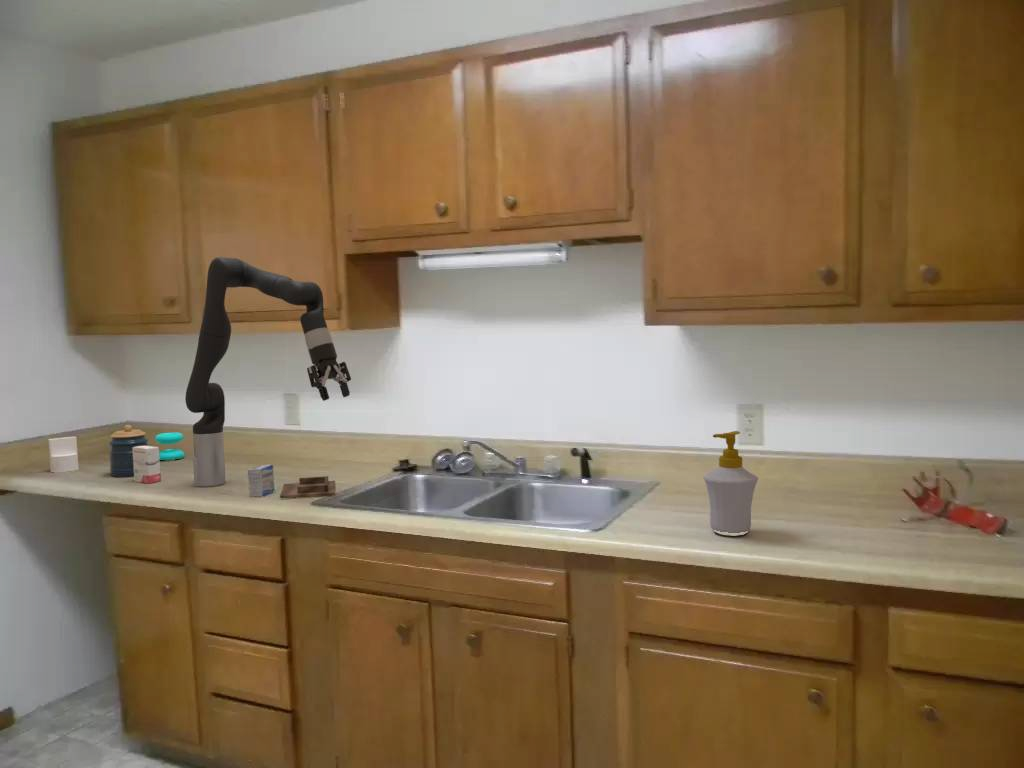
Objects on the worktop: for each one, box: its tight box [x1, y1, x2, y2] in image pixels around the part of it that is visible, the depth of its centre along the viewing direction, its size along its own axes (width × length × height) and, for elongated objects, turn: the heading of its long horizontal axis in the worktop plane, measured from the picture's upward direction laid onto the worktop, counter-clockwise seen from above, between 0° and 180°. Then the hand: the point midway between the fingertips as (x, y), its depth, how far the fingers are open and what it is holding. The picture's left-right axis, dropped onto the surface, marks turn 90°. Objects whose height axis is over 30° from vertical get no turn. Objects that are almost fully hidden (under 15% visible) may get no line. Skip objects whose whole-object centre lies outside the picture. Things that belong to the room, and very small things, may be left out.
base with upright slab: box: [48, 436, 79, 473], centre depth 298 cm, size 9×9×12 cm
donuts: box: [155, 431, 185, 461], centre depth 318 cm, size 10×10×10 cm
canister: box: [108, 424, 150, 478], centre depth 289 cm, size 13×13×18 cm
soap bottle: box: [703, 430, 759, 533], centre depth 197 cm, size 13×13×25 cm
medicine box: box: [247, 463, 275, 498], centre depth 251 cm, size 8×4×9 cm, turn 168°
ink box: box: [132, 445, 162, 484], centre depth 275 cm, size 9×5×12 cm, turn 57°
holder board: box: [279, 475, 336, 499], centre depth 255 cm, size 16×18×3 cm
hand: (336, 398), depth 240 cm, fingers open, 8 cm apart
